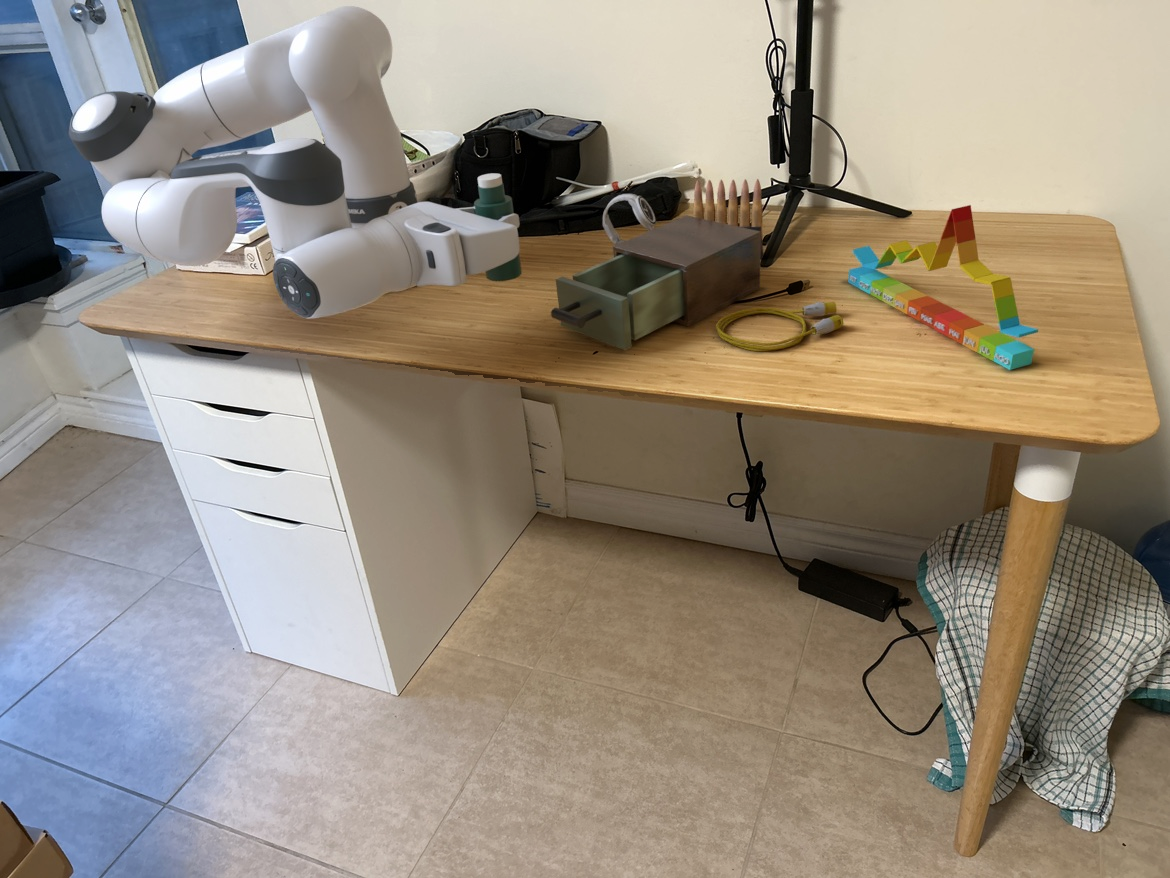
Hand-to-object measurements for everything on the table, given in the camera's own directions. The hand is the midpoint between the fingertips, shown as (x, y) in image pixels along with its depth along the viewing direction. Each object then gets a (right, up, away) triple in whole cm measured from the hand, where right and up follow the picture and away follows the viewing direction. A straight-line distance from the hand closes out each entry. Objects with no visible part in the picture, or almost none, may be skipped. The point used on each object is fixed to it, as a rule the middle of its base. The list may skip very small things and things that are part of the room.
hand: (500, 215), depth 109 cm
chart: (+55, -14, -2) cm, 56 cm away
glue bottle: (0, -7, +4) cm, 8 cm away
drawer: (+15, -14, +3) cm, 21 cm away
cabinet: (+26, -9, +11) cm, 29 cm away
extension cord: (+36, -15, -1) cm, 39 cm away
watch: (+18, -2, +23) cm, 30 cm away
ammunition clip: (+33, -1, +23) cm, 40 cm away
